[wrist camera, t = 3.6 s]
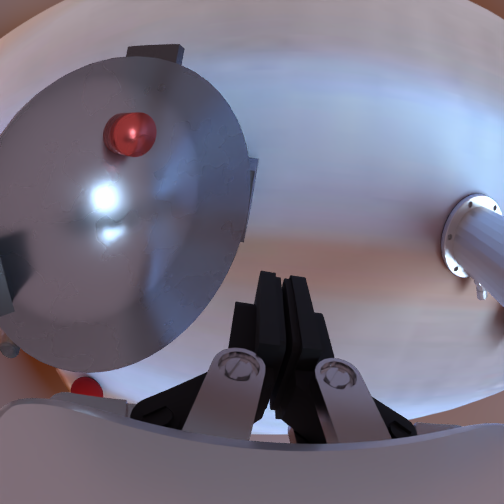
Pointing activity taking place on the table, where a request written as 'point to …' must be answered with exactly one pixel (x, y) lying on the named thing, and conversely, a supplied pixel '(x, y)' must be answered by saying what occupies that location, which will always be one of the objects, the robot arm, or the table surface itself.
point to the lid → (117, 211)
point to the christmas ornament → (86, 387)
